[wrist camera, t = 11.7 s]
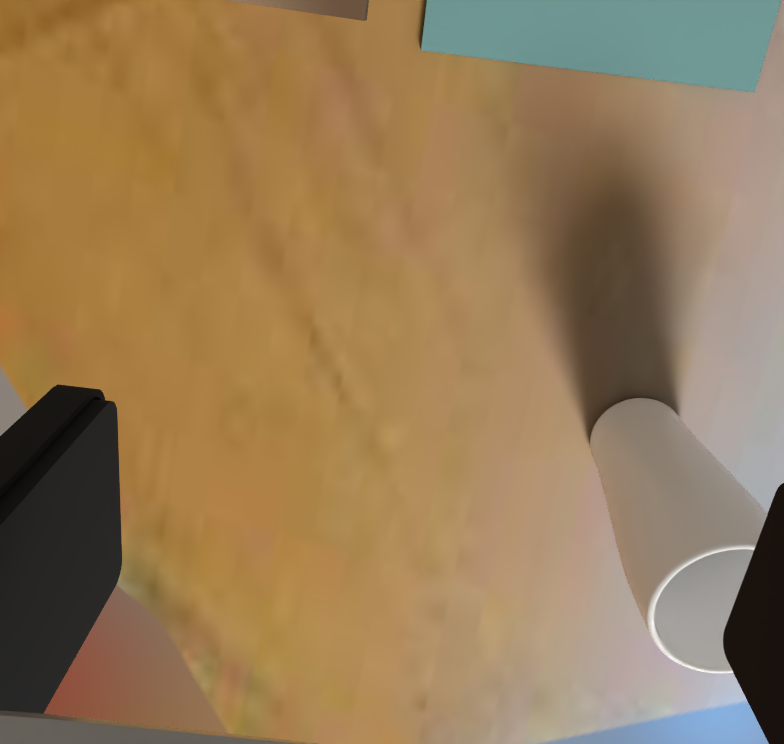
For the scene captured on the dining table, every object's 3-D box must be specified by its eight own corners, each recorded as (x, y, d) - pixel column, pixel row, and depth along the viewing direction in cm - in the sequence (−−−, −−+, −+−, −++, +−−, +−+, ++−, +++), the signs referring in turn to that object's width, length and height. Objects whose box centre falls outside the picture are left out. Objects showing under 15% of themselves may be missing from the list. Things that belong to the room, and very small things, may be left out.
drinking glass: (670, 362, 42) (792, 516, 28) (709, 457, 44) (840, 643, 30) (556, 412, 43) (620, 581, 30) (601, 501, 46) (678, 697, 32)
